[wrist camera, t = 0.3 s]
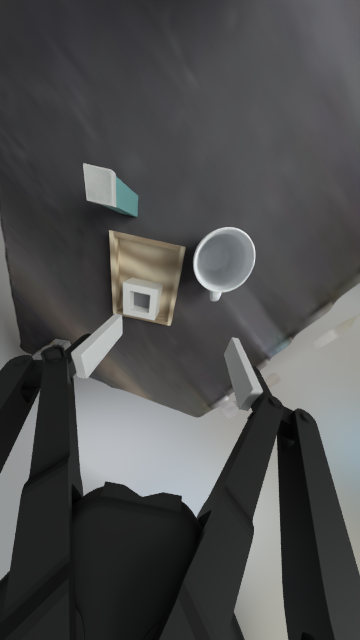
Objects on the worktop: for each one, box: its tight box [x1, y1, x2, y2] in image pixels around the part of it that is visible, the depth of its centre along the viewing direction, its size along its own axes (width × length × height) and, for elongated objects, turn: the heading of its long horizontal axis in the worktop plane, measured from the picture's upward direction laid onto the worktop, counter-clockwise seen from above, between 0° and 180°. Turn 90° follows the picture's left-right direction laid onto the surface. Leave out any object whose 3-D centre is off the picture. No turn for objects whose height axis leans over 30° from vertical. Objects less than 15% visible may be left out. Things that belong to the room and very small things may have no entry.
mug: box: [193, 227, 255, 301], centre depth 31 cm, size 15×11×13 cm
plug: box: [83, 163, 138, 217], centre depth 27 cm, size 4×4×12 cm
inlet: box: [123, 277, 163, 321], centre depth 39 cm, size 9×9×6 cm
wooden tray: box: [109, 230, 186, 326], centre depth 39 cm, size 22×18×4 cm
